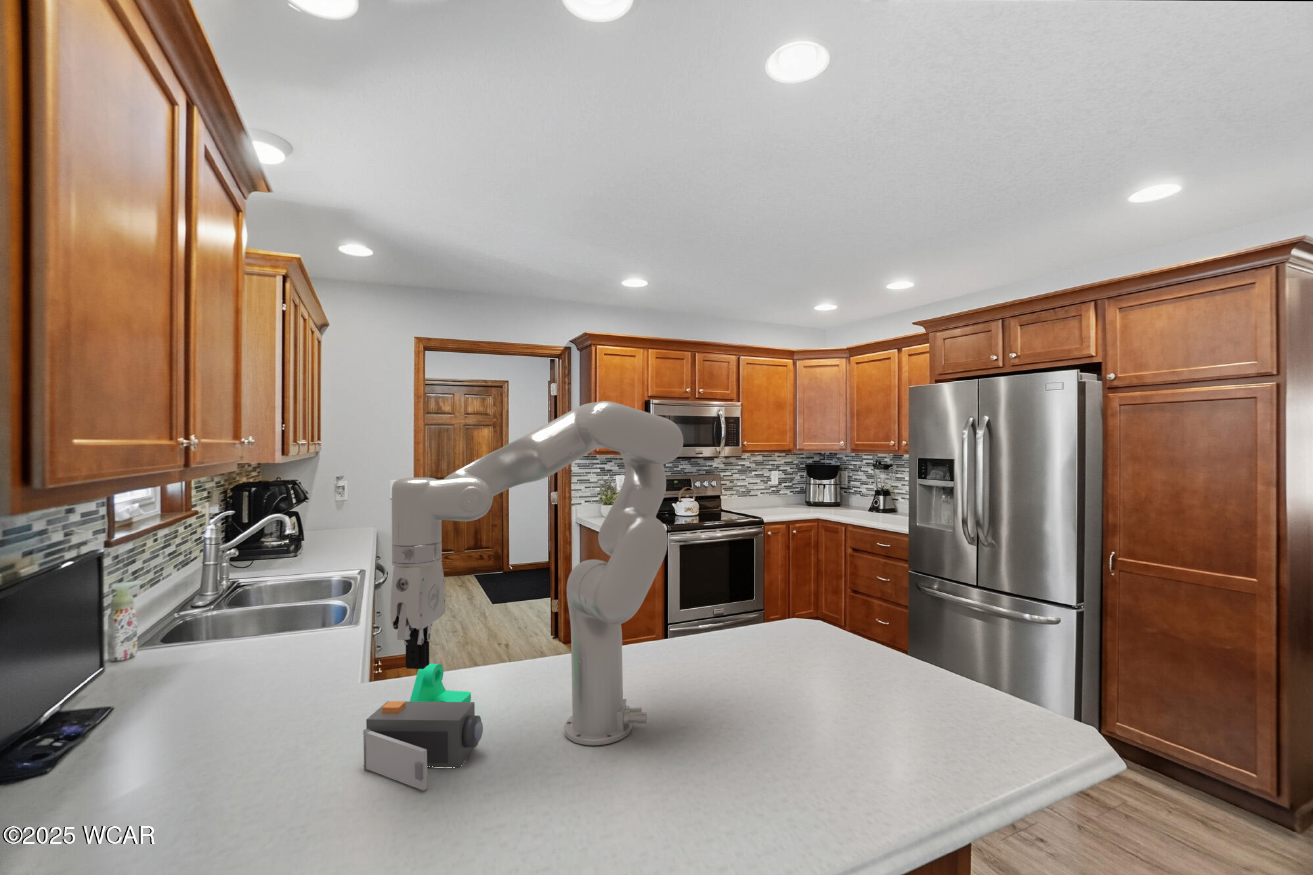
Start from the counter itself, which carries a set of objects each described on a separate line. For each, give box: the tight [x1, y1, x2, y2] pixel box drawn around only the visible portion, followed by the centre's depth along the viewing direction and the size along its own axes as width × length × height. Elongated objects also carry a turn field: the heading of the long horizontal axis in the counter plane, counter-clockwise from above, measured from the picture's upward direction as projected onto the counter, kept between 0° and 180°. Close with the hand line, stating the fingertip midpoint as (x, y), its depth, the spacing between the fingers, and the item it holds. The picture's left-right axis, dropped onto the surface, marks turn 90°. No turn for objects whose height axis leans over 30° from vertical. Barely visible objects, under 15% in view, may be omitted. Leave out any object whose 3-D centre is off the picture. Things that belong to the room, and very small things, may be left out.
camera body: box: [365, 700, 484, 769], centre depth 104 cm, size 18×7×9 cm, turn 86°
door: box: [362, 728, 428, 791], centre depth 97 cm, size 14×1×6 cm, turn 61°
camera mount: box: [409, 663, 472, 702], centre depth 120 cm, size 12×8×10 cm, turn 170°
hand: (417, 666), depth 97 cm, fingers closed
